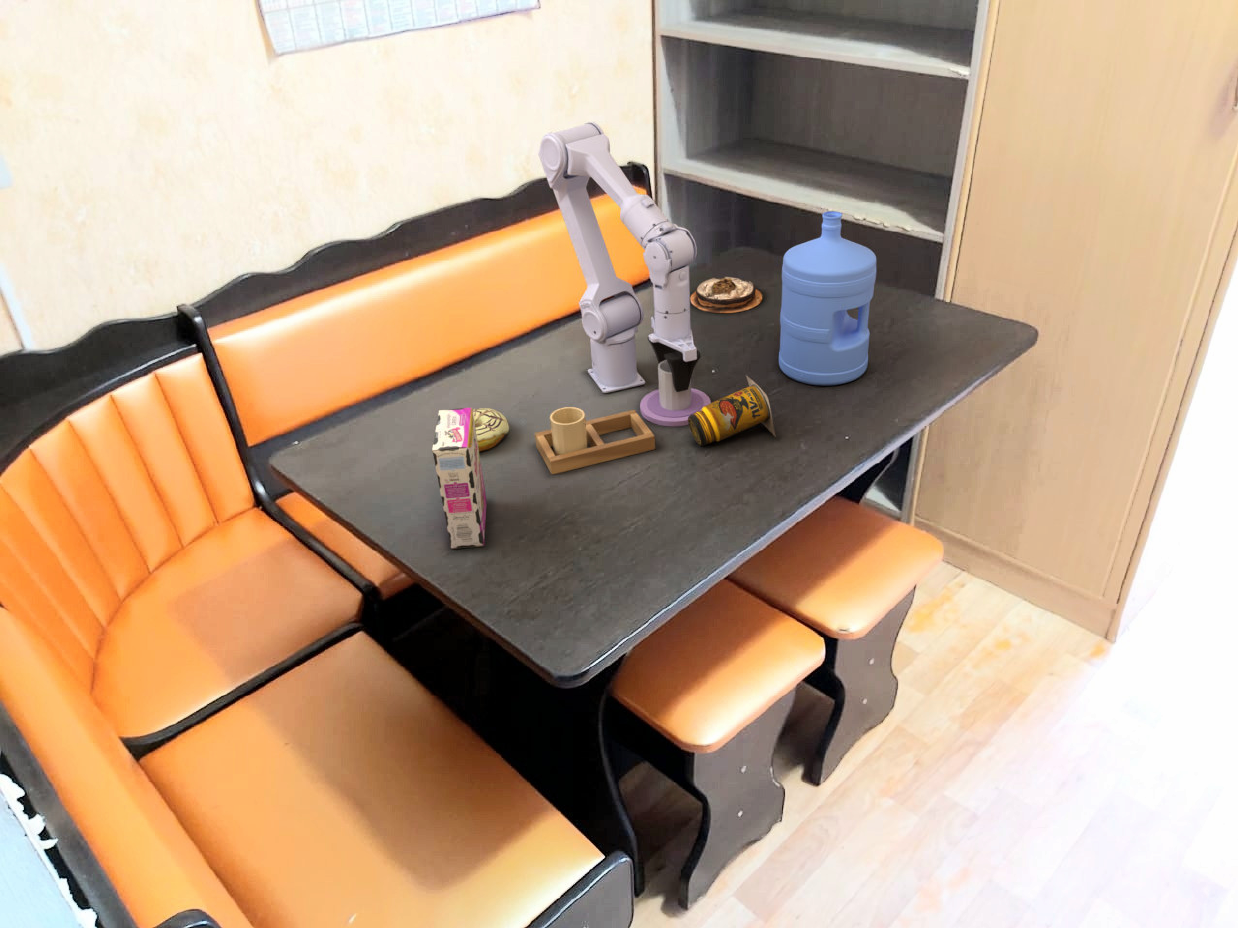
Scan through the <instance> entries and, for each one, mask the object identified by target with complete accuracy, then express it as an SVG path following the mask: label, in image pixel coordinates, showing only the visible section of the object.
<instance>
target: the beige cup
mask: <svg viewBox="0 0 1238 928" xmlns="http://www.w3.org/2000/svg"><path fill="white" fill-rule="evenodd" d="M586 421H587V420H586V413H585V412H584V410H583V409H581V408H580V407H576V406H575V407H574V406H565V407H561V408H558V409H555V410H553V411H552V412H551V414H550V415H549V422H550V423H549V424H550V430H551V432H552V440H553V446H552V448H553V453H554V454H555V456H558V455H562V454H566V453H570V452H574V451H578V450H582V449H587V448H589V443H588V441H587V430H586Z"/></svg>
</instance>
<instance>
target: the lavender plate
mask: <svg viewBox="0 0 1238 928" xmlns="http://www.w3.org/2000/svg"><path fill="white" fill-rule="evenodd" d="M691 397H692V403H691V405H690V406H689V407H687V408H685V409H682V410H667V409H664V408H663V407H661V405H660V400H659V388H658V389H655V390H652V391H651V392H649V393H647V394H646V395H645V396H643V397H642V398H641V400H640V404H639V410H640V414H641V416H642V417H643V418H644V419H645V420H646V421H648V422H650V423H652V424H655V425H657V426H661V427H684V426H689V424H688V417H689V416H690V415H692V414H694V413H696V412H698V411H701V410H702V408H703V407H704V406H706V405H708V404H710V403H712V401H711V398H710V397H709V395H707V394H706V393H705V392H704V391H701V390H700V389H696V388H693V387H691Z"/></svg>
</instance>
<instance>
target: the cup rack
mask: <svg viewBox="0 0 1238 928" xmlns="http://www.w3.org/2000/svg"><path fill="white" fill-rule="evenodd" d="M630 428H631V430H632V431H633V432H634V433H635V434H636V436H631V437H628V438H624V439H620V440H615V441H612V442H608V443H607V442H606V443H605V442H604V441H603V440H602V438H601V437H600V436H601V435H605V434H609V433H613V432H617V431H622V430H626V429H630ZM650 429H651V428H649V426H648V425H647V424H646V423H645V421H644V420H643V419H642V418H641V416H640V415H639V414H638V413H637V412H636V410H635V409H631V410H627V411H623V412H618V413H615V414H610V415H606V416H602V417H597V418H593V419H588V420H586V430H587V441H588V446H589V447H588V448H587V449H582V450H578V451H574V452H570V453H566V454H562V455H558V456H555V454H554V450H553V449H552V448H553V440H552V432H551V429H545V430H543V431H539V432H538V431H537V432H535V433H534V441H535V447H536V449H537V450H538V452H539V455H540V456H541V458H542V459H543V461H544V463H545V465H546V467H547V468H548V470H549V472H550V474H551V475H556V474H561V473H565V472H569V471H573V470H576V469H580V468H584V467H588V466H593V465H597V464H601V463H605V462H608V461H612V460H617V459H621V458H625V457H628V456H633V455H636V454H641V453H645V452H649V451H653V450H656V436H655V434H654V433H653V432H652V430H650ZM551 447H552V448H551Z"/></svg>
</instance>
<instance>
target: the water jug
mask: <svg viewBox="0 0 1238 928" xmlns="http://www.w3.org/2000/svg"><path fill="white" fill-rule="evenodd" d="M821 216H822V223H821V235H820V236H819V237H816V238H814V239H811V240H808V241H806V242H803V243H800V244H796V245H794V246H793V247H791V248H789V249H788V250H787V251H786V252H785V253H784V255H783V258H782V268H781V283H782V284H781V308H780V314H779V322H780V323H779V324H780V335H779V337H780V338H779V352H778V366H779V368H780V370H781V372H782V373H783V374H785V375H786V376H787V377H789V378H790V379H792V380H794V381H796V382H798V383H799V382H800V383H802V384H807V385H813V386H821V387H823V386H824V387H825V386H829V387H830V386H838V385H844V384H847V383H850V382H853V381H855V380H857V379H859V378H860V377H861V376H862V375H864V374H865V372H866V371H867V368H868V366H869V365H868V363H869V354H868V353H869V346H870V345H869V344H870V335H871V334H870V330H869V326H868V325H869V315H870V304H871V300H872V299H873V297H874V291H875V283H876V280H877V279H876V278H877V256H876V254H875V253H874V252H873V251H872V250H871V249H870V248H869V247H867V246H864V245H863V244H859V243H857V242H854V241H852V240H848V239H847V238H843V237H842V236H841V235H842V234H841V231H842V225H843V224H842V218H843V213H842V212H840V211H837V210H836V211H834V210H829V211H825V212H823V213H822V215H821ZM854 309H858V312H857V318H855V317H854V318H853V317H851V316H850V315H849V314H848V310H854Z"/></svg>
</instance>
